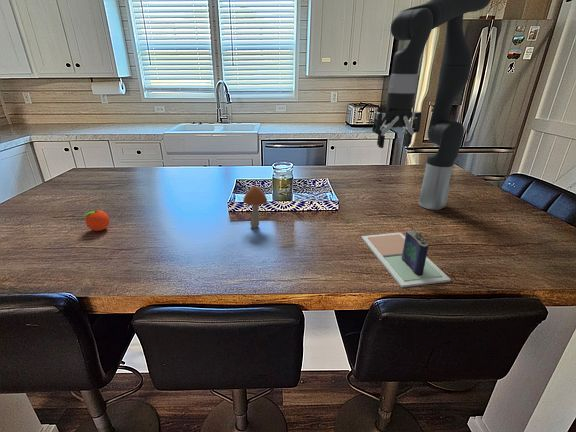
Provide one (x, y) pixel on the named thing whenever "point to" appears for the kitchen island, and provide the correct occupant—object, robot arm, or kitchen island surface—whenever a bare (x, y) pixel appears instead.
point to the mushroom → (255, 203)
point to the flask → (415, 251)
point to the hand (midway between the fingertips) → (393, 146)
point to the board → (401, 261)
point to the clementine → (97, 220)
